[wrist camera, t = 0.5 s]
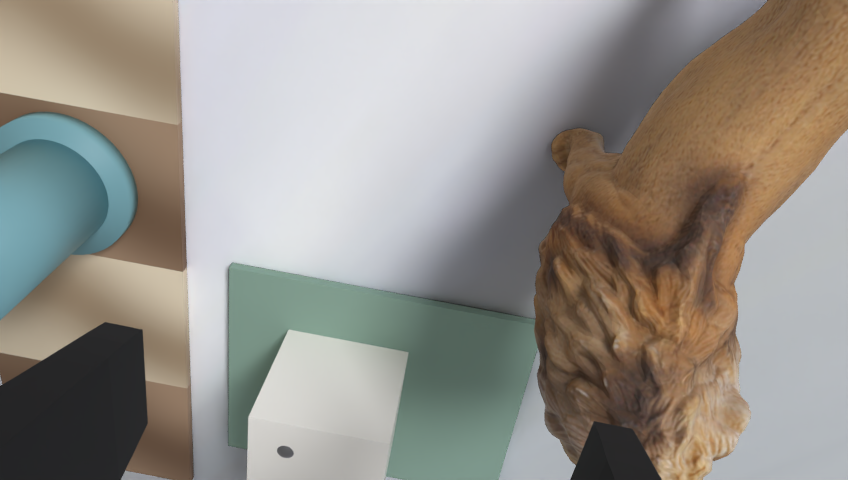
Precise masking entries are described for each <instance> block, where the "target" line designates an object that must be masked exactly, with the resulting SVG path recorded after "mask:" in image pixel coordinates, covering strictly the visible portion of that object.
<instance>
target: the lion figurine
mask: <svg viewBox="0 0 848 480" xmlns="http://www.w3.org/2000/svg"><path fill="white" fill-rule="evenodd" d="M847 129H848V0H768V1H767V2H766V3H765V4H764V5H763V7H762V8H761V9H759V10H758V11H757V12H756V13H755V14H753V15H752V16H751V17H750V18H749V19H748V20H746V21H745V22H744V23H742V24H741V25H740V26H738V27H737V28H735V29H734V30H732V31H731V32H729V33H728V34H726V35H725V36H724V37H722V38H721V39H720V40H718V41H717V42H716V43H714V44H713V45H712V46H710V47H709V48H708V49H706V50H705V51H703V52H702V53H701V54H699V55H698V56H697V57H695V58H694V59H693V60H692V61H690V62H689V63H688V64H687V65H686V66H685V67H684V68H683V69H682V70H681V71H680V72H679V73H678V75H677V76H676V77H675V78H674V79H673V80H672V81H671V82H670V84H669V85H668V86H667V87H666V88H665V89H664V90H663V92H662V93H661V94H660V96H659V97H658V98H657V100H656V101H655V102H654V104H653V105H652V107H651V108H650V110H649V111H648V113H647V114H646V116H645V117H644V119H643V120H642V122H641V124H640V125H639V127H638V128H637V130H636V132H635V133H634V135H633V136H632V138H631V139H630V140H629V142H628V143H627V145H626V147H625V149H624V151H623V153H622V154H619V153H605V152H604V139H603V137H602V135H601V134H599V133H596V132H593V131H590V130H587V129H583V128H576V129H571V130H566V131H564V132H562V133H560V134H559V135H557V136H556V138H555V139H554V140H553V142H552V144H551V149H552V158H553V160H554V161H555V162H556V164H557V165H558V166H559V168H560V169H561V170H562V171H565V173H564V181H563V186H564V192H565V194H566V197H567V199H568V201H569V204H570V205H569V206H567V207H565V208H563V209H562V211H561V213H560V214H559V216H558V218H557V220H556V221H555V222H554V223H553V225H552V227H551V229H550V231H549V233H548V235H547V236H546V237H545V239H544V240H543V241H542V242H541V243H540V245H539V253H540V262H541V267H540V268H539V270H538V272H537V275H536V283H535V286H536V295H535V297H534V306H535V314H536V318H535V327H534V334H535V339H536V343H537V346H538V349H539V352H540V366H539V369H538V373H537V379H538V385H539V389H540V393H541V395H542V398H543V400H544V403H545V413H544V414H545V425H546V427H547V429H548V431H549V432H550V433H551V434H552V435H553V436H555V437H556V438H558V439H560V442H561V444H562V446H563V449H564V451H565V453H566V454H567V456H568V457H569V459H570V460H571V461H572V462H573V463H574V464H575V465H577V462H578V460H579V457H580V455H581V452H582V450H583V447H584V445H585V442H586V440H587V437H588V434H589V432H590V429H591V427H592V424H593V422H594V421H596V422H601V423H606V424H611V425H616V426H621V427H626V428H631V429H633V430H634V432H635V433H636V435H637V437H638V438H639V440H640V442H641V444H642V445H643V447H644V449H645V451H646V452H647V454H648V456H649V458H650V460H651V461H652V463H653V465H654V467H655V468H656V470H657V472H658V474H659V475H660V477H661V479H662V480H703V477H704V476H706V475H707V474H709V473H710V472H711V471H712V461H715V460H718V459H721V458H723V457H725V456H728V455H729V454H730V453H731V452H732V451H733V450H734V448H735V446H736V444H737V442H738V438H739V436H740V434H741V433H742V432H743V431H744V430H745V428H746V426H747V424H748V422H749V420H750V418H751V411H750V410H749V405H748V403H747V402H746V401H745V400H744V399H743V398H742V397H741V396H740V394H739V393H740V384H739V380H738V379H739V362H740V359H741V350H740V346H739V343H738V340H737V337H736V334H735V332H736V325H737V320H738V305H737V293H736V291H735V286H734V282H735V280H736V278H737V275H738V273H739V271H740V267H741V264H742V260H743V256H744V245H745V243H746V242H747V241H748V239H749V238H750V237H751V236H752V234H753V233H754V232H755V231H756V230H757V229H758V228H759V227H760V226H761V225H762V224H763V222H764V221H765V220H766V219H767V218H768V217H770V216H771V215H772V214H773V213H774V212H775V211H776V210H777V209H778V208H779V207H780V206H781V205H782V204H783V203H784V202H785V201H786V200H787V199H788V198H789V197H790V196H791V195H792V194H793V193H794V192H795V191H796V190H797V188H798V187H799V186H800V185H801V184H802V183H803V182H804V181H805V180H806V179H807V178H808V177H809V175H810V174H811V173H812V172H813V171H814V170H815V169H816V167H817V166H818V165H819V163H820V162H821V160H822V159H823V158H824V156H825V155H826V153H827V152H828V151H829V149H830V148H831V147H832V146H833V145H834V143H835V142H836V141H837V140H838V139H839V137H840V136H841V135H842V134H843V133H844V132H845V131H846V130H847Z"/></svg>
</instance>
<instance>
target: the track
mask: <svg viewBox="0 0 848 480" xmlns="http://www.w3.org/2000/svg"><path fill="white" fill-rule="evenodd" d="M33 112H55V113H61V114H65V115H68V116H71V117H74V118H76V119H79V120H81V121H83V122H85V123H87V124H88V125H90V126H92V127H93V128H95V129H96V130H98V131H99V132H100V133H102V134H103V135H104V136H105V137H106V138H107V139H109V140H110V141H111V142H112V143H113V144H114V145H115V147H116V148H117V149H118V150H119V151H120V153H121V154H122V155H123V157H124V158H125V160H126V161H127V163H128V165H129V167H130V169H131V171H132V173H133V176H134V178H135V182H136V186H137V192H138V206H137V212H136V215H135V218H134V220H133V222H132V224H131V225H130V227H129V228H128V229H127V231H126V232H125V233H124V234H123V235H122V236H121V237H120V238H119V239H118V240H117V241H115V242H114V243H113V244H112V245H111V246H109V247H108V248H106V249H104V250H102V251H99V252H96V253H92V254H85V255H70V256H69V257H68V258H67V259H66V260H65V261H63V262H62V263H61V264H60V265H59V266H58V267H57V268H56V269H55V270H54V271H53V272H52V273H51V274H50V275H48V276H47V277H46V278H45V279H44V280H43V281H42V282H41V283H40V284H39V285H38V286H37V287H36V288H35V289H33V290H32V291H31V292H30V293H29V294H28V295H27V296H26V297H25V298H24V299H23V300H22V301H21V302H20V303H18V304H17V305H16V306H15V307H14V308H13V309H12V310H11V311H10V312H9V313H8V314H7V315H6V316H5V317H3V318H2V319H1V320H0V375H1V379H2V384H4V383H6V382H8V381H9V380H11V379H13V378H14V377H16V376H18V375H19V374H21V373H23V372H24V371H26V370H27V369H29V368H31V367H32V366H34V365H36V364H37V363H39V362H40V361H42V360H44V359H45V358H47V357H49V356H50V355H52V354H53V353H55V352H57V351H58V350H60V349H61V348H63V347H65V346H66V345H68V344H70V343H71V342H73V341H74V340H76V339H78V338H79V337H81V336H82V335H84V334H86V333H87V332H89V331H91V330H92V329H94V328H96V327H97V326H99V325H101V324H103V323H104V322H108V323H113V324H118V325H123V326H128V327H133V328H137V329H142V330H143V344H144V362H145V380H146V398H147V416H148V424H147V426H146V428H145V430H144V432H143V435H142V437H141V439H140V441H139V443H138V445H137V447H136V449H135V452H134V454H133V456H132V458H131V460H130V462H129V464H128V466H127V468H126V471H131V472H136V473H141V474H146V475H152V476H157V477H162V478H167V479H172V480H192V479H193V477H194V472H193V442H192V411H191V381H190V351H189V321H188V291H187V261H186V231H185V200H184V170H183V140H182V110H181V80H180V50H179V19H178V0H0V127H1V126H3V125H5V124H7V123H9V122H10V121H12V120H14V119H16V118H18V117H20V116H22V115H25V114H28V113H33Z"/></svg>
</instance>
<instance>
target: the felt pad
mask: <svg viewBox="0 0 848 480" xmlns="http://www.w3.org/2000/svg"><path fill="white" fill-rule="evenodd" d="M534 327H535V319H530V318H525V317H520V316H514V315H509V314H504V313H498V312H493V311H488V310H482V309H477V308H472V307H466V306H461V305H456V304H450V303H445V302H440V301H434V300H429V299H424V298H418V297H413V296H408V295H402V294H397V293H392V292H386V291H381V290H376V289H370V288H365V287H360V286H354V285H349V284H344V283H338V282H333V281H328V280H322V279H317V278H312V277H307V276H301V275H296V274H291V273H285V272H280V271H275V270H269V269H264V268H259V267H253V266H248V265H243V264H237V263H232V264H231V266H230V267H229V404H228V446H232V447H237V448H243V449H248V417H249V414H250V412H251V410H252V408H253V406H254V404H255V401H256V399H257V397H258V395H259V393H260V391H261V388H262V386H263V384H264V382H265V380H266V377H267V375H268V373H269V371H270V369H271V367H272V364H273V362H274V360H275V358H276V356H277V354H278V351H279V349H280V347H281V345H282V343H283V340H284V338H285V336H286V334H287V332H288V330H294V331H299V332H305V333H310V334H315V335H321V336H326V337H331V338H336V339H342V340H347V341H352V342H358V343H363V344H368V345H373V346H379V347H384V348H389V349H394V350H400V351H405V352H409V353H408V359H407V364H406V370H405V375H404V381H403V387H402V392H401V398H400V404H399V409H398V415H397V421H396V426H395V432H394V438H393V443H392V448H391V453H390V458H389V463H388V468H387V473H386V476H387V477H393V478H398V479H403V480H498V479H499V475H500V472H501V469H502V465H503V462H504V459H505V455H506V452H507V449H508V445H509V442H510V439H511V435H512V432H513V429H514V425H515V422H516V419H517V415H518V412H519V409H520V405H521V402H522V399H523V395H524V392H525V389H526V385H527V382H528V379H529V375H530V372H531V369H532V365H533V362H534V359H535V355H536V352H537V349H538V346H537V343H536V339H535V334H534Z"/></svg>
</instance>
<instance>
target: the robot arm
mask: <svg viewBox="0 0 848 480" xmlns="http://www.w3.org/2000/svg"><path fill="white" fill-rule="evenodd" d="M147 424H148V416H147V398H146V380H145V362H144V344H143V330H142V329H137V328H133V327H128V326H123V325H118V324H113V323H108V322H104V323H103V324H101V325H99V326H97V327H96V328H94V329H92V330H91V331H89V332H87V333H86V334H84V335H82V336H81V337H79V338H78V339H76V340H74V341H73V342H71V343H70V344H68V345H66V346H65V347H63V348H61V349H60V350H58V351H57V352H55V353H53V354H52V355H50V356H49V357H47V358H45V359H44V360H42V361H40V362H39V363H37V364H36V365H34V366H32V367H31V368H29V369H27V370H26V371H24V372H23V373H21V374H19V375H18V376H16V377H14V378H13V379H11V380H9V381H8V382H6V383H4V384H3V385H1V386H0V480H120V479H121V478H122V476H123V474H124V472H125V470H126V468H127V466H128V464H129V462H130V460H131V458H132V456H133V454H134V452H135V449H136V447H137V445H138V443H139V441H140V439H141V437H142V435H143V432H144V430H145V428H146V426H147ZM571 480H662V479H661V477H660V475H659V474H658V472H657V470H656V468H655V467H654V465H653V463H652V461H651V460H650V458H649V456H648V454H647V452H646V451H645V449H644V447H643V445H642V444H641V442H640V440H639V438H638V437H637V435H636V433H635V432H634V430H633V429H631V428H626V427H621V426H616V425H611V424H606V423H601V422H596V421H594V422H593V424H592V427H591V429H590V432H589V434H588V437H587V440H586V442H585V445H584V447H583V450H582V452H581V455H580V457H579V460H578V462H577V465H576V467H575V470H574V472H573V475H572V477H571Z"/></svg>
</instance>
